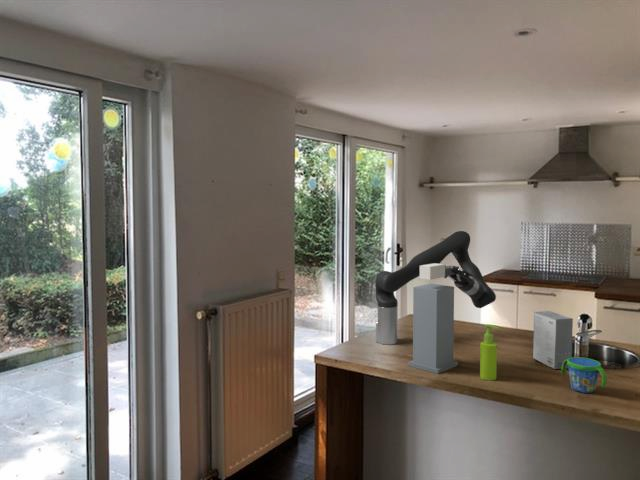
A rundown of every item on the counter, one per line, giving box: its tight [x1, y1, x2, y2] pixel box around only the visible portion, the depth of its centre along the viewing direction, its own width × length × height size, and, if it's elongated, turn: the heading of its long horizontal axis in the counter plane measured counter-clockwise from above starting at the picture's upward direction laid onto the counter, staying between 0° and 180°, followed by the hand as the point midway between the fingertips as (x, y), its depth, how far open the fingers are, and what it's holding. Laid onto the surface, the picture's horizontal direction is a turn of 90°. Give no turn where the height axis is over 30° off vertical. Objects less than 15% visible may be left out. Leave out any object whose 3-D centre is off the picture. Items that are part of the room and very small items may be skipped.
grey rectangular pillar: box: [407, 283, 459, 375], centre depth 209 cm, size 14×14×32 cm
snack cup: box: [560, 356, 608, 394], centre depth 182 cm, size 16×10×10 cm
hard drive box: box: [532, 310, 574, 370], centre depth 211 cm, size 16×8×20 cm, turn 9°
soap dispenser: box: [479, 324, 501, 381], centre depth 194 cm, size 6×7×20 cm
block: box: [419, 263, 460, 280], centre depth 210 cm, size 21×5×5 cm, turn 133°
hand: (447, 267), depth 213 cm, fingers closed on block, 4 cm apart
